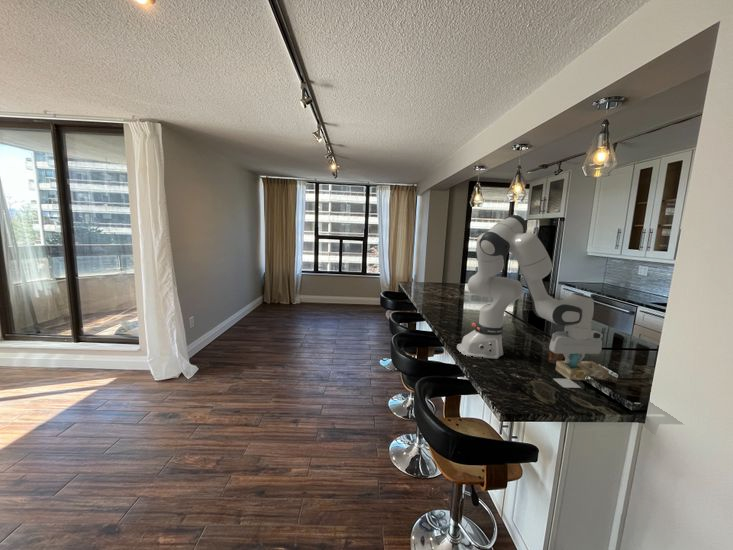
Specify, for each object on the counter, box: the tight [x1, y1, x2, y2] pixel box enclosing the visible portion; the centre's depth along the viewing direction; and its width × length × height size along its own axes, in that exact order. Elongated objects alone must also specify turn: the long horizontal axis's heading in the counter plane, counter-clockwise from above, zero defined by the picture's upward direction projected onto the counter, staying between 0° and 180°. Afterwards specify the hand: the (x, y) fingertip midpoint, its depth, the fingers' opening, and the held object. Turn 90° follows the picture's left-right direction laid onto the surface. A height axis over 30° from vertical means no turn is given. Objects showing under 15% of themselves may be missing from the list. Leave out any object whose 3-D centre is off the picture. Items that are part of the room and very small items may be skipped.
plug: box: [568, 353, 579, 368], centre depth 127 cm, size 3×3×8 cm
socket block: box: [555, 360, 610, 381], centre depth 128 cm, size 16×9×5 cm, turn 91°
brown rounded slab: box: [547, 349, 565, 365], centre depth 143 cm, size 15×3×8 cm, turn 130°
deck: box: [553, 378, 582, 389], centre depth 121 cm, size 7×7×1 cm
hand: (572, 362), depth 127 cm, fingers closed on plug, 3 cm apart
